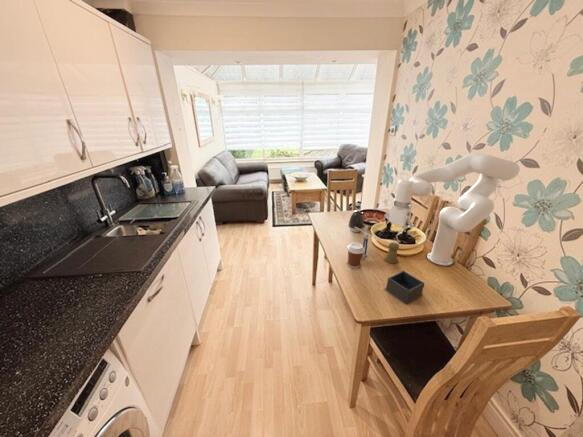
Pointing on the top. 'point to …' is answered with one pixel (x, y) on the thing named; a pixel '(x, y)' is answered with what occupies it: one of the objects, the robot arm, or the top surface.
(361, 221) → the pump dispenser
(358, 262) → the coffee cup
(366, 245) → the alien figure
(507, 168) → the robot arm
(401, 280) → the bin
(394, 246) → the olive flared cylinder
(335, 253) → the top surface
